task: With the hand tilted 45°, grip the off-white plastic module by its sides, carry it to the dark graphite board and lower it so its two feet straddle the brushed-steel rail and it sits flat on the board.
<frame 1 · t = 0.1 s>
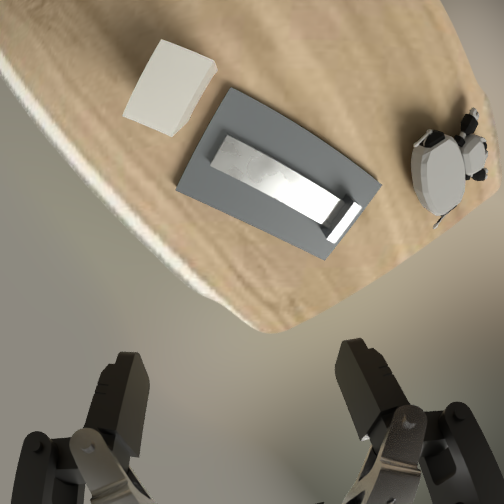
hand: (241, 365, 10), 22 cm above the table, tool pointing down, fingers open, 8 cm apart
module: (184, 87, 23), on the table
rail board: (284, 180, 30), on the table
rail: (288, 187, 28), on the rail board, point 2 cm above the table
robot toy: (442, 157, 29), on the table
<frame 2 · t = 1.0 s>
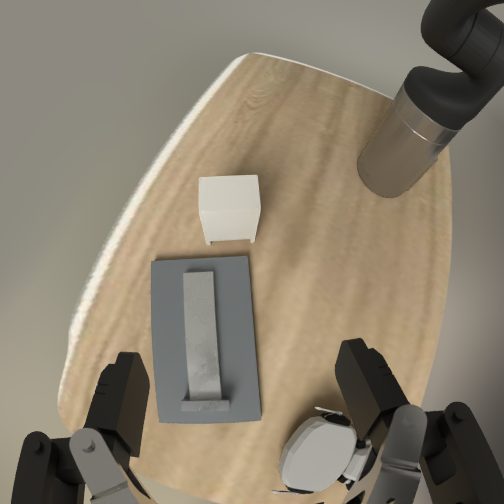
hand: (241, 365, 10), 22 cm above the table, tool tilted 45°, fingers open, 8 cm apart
module: (229, 229, 36), on the table
rail board: (203, 341, 31), on the table
rail: (200, 341, 29), on the rail board, point 2 cm above the table
robot toy: (333, 452, 28), on the table
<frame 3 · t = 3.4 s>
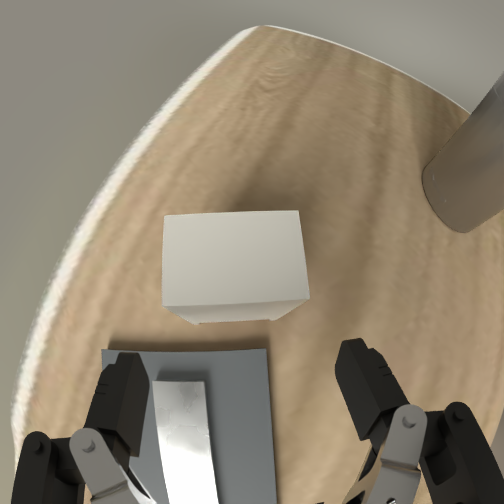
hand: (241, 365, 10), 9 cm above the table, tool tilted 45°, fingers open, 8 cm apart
module: (233, 295, 20), on the table
rail board: (193, 472, 16), on the table
rail: (189, 485, 13), on the rail board, point 2 cm above the table
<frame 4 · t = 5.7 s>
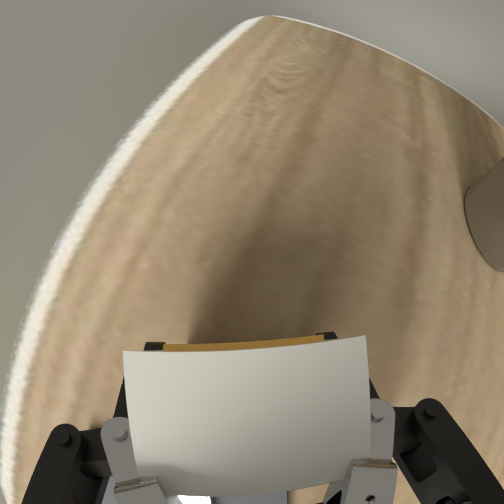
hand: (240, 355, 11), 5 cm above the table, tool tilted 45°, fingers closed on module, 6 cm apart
module: (240, 381, 14), on the table, touching gripper
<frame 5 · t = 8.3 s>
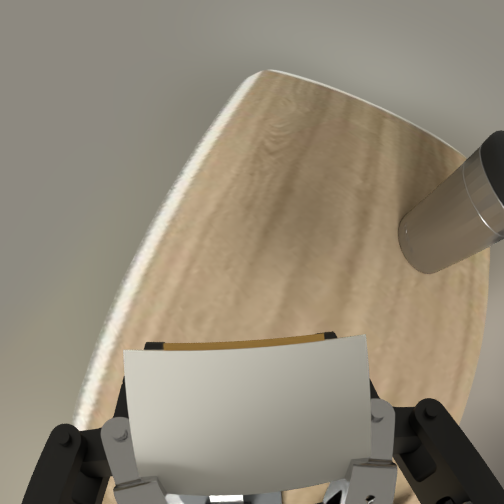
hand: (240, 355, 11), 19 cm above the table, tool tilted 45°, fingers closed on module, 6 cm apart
module: (241, 381, 14), point 14 cm above the table, touching gripper
rail board: (222, 455, 24), on the table
when the fingers open (7 cm above the table, at t = 10.9 s): module drops 1 cm, resting on rail board.
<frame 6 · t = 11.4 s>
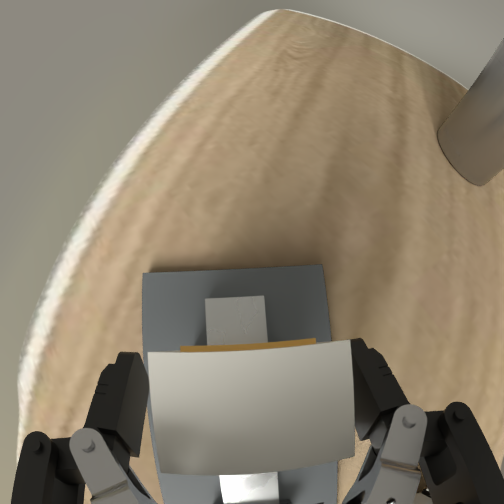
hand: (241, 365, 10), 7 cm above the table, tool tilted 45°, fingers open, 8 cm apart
module: (243, 379, 16), point 1 cm above the table, touching rail board
rail board: (242, 419, 16), on the table
rail: (244, 429, 14), on the rail board, point 2 cm above the table
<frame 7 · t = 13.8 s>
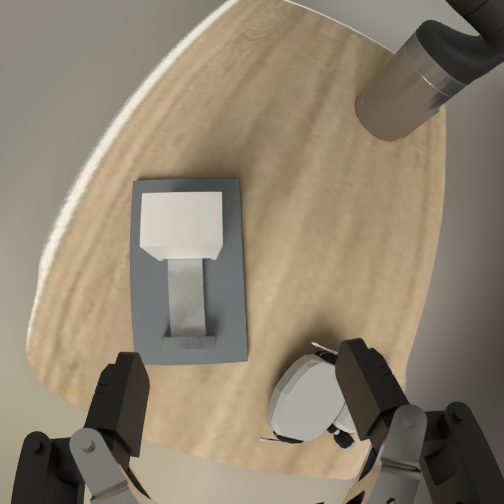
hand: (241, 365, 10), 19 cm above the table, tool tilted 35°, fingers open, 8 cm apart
module: (187, 241, 29), point 1 cm above the table, touching rail board
rail board: (186, 270, 29), on the table
rail: (185, 268, 27), on the rail board, point 2 cm above the table
robot toy: (322, 398, 30), on the table
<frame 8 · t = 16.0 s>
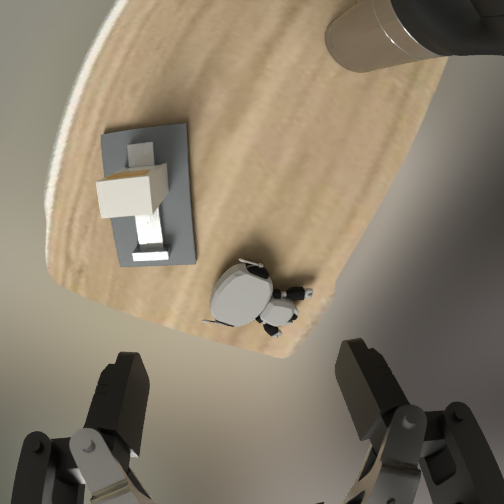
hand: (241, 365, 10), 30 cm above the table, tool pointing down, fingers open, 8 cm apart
module: (146, 179, 34), point 1 cm above the table, touching rail board
rail board: (148, 198, 37), on the table
rail: (144, 203, 35), on the rail board, point 2 cm above the table
robot toy: (256, 293, 46), on the table
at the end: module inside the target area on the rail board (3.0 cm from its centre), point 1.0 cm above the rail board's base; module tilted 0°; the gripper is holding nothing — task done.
